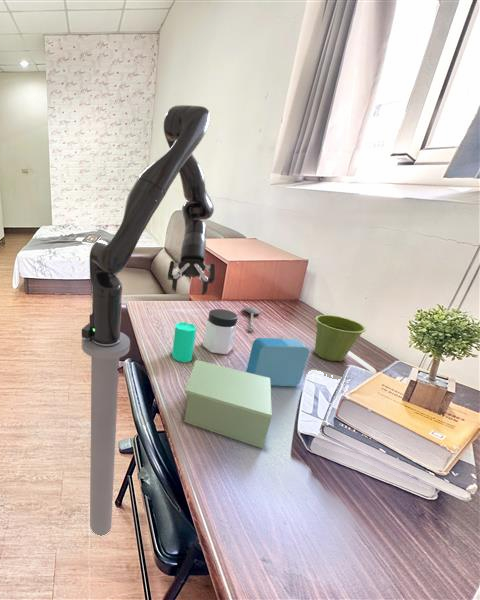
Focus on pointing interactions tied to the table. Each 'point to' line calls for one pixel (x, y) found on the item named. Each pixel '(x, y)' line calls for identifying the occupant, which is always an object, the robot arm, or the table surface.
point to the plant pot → (336, 336)
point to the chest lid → (231, 388)
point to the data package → (278, 360)
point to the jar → (220, 331)
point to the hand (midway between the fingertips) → (188, 292)
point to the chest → (227, 420)
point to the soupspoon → (251, 311)
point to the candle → (183, 342)
